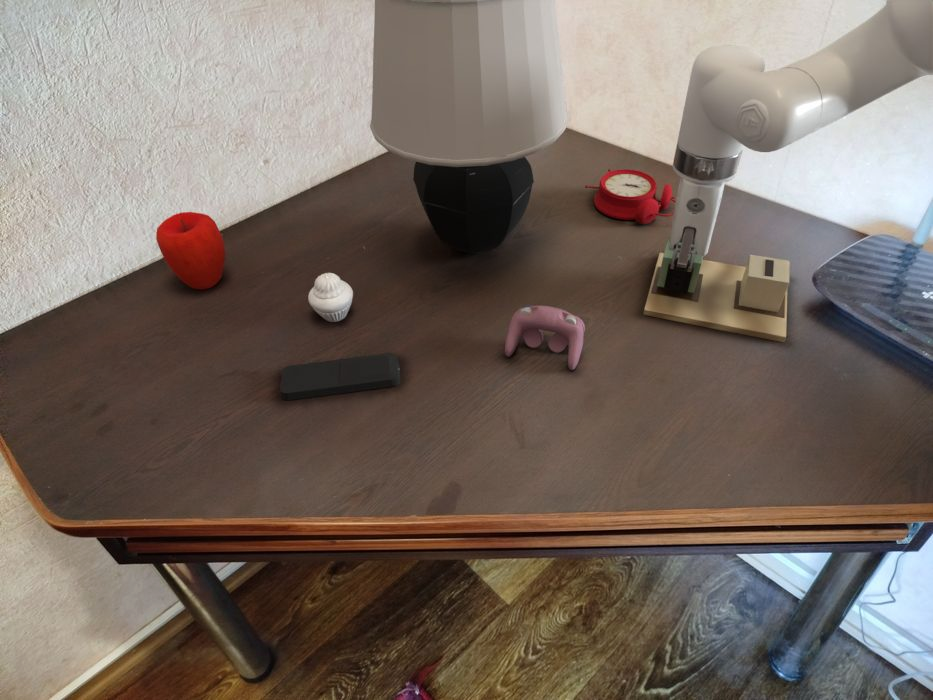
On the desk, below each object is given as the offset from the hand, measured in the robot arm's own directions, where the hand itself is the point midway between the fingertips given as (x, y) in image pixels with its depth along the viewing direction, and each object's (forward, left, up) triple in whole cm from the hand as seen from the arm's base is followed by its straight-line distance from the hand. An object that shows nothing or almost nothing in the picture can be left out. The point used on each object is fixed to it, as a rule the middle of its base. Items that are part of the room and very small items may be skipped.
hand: (678, 276), depth 90 cm
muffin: (+44, +20, -2) cm, 49 cm away
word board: (-6, 0, -2) cm, 6 cm away
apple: (+67, +19, -2) cm, 70 cm away
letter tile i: (0, 0, 0) cm, 0 cm away
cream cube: (-11, 0, -1) cm, 11 cm away
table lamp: (+31, -2, -2) cm, 32 cm away
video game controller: (+14, +18, -2) cm, 23 cm away
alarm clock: (+9, -20, -2) cm, 22 cm away
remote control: (+37, +31, -2) cm, 49 cm away
